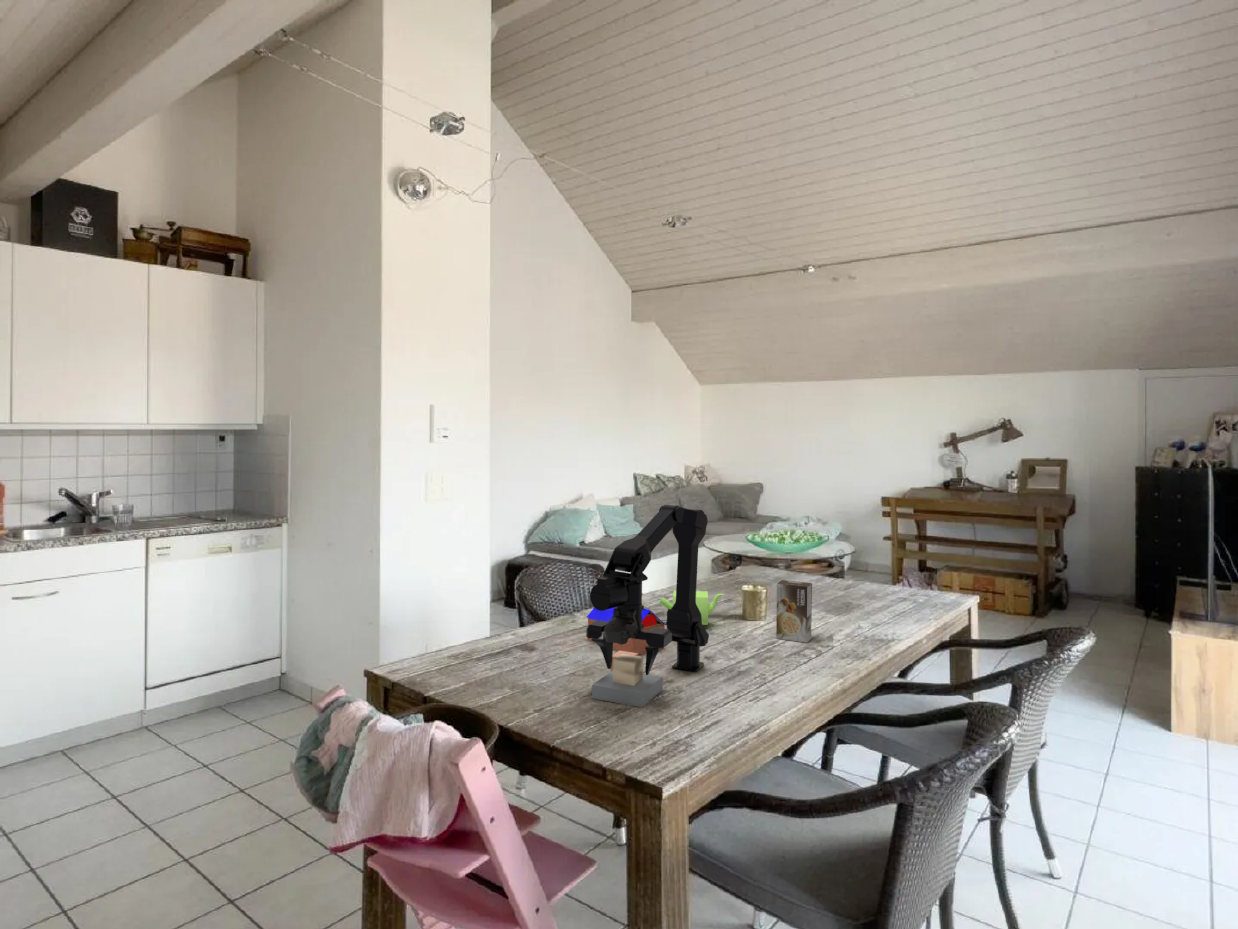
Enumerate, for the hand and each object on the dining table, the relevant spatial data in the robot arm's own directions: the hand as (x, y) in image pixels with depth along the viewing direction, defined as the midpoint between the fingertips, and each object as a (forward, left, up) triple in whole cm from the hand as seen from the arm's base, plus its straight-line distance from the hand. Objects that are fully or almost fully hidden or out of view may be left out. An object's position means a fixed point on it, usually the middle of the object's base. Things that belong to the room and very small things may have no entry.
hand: (628, 671), depth 162 cm
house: (-35, -16, -6) cm, 39 cm away
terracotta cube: (-11, -6, -5) cm, 14 cm away
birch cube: (0, 0, -2) cm, 2 cm away
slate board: (0, 0, -5) cm, 5 cm away
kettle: (-62, -6, -5) cm, 63 cm away
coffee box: (-62, +25, -5) cm, 67 cm away
